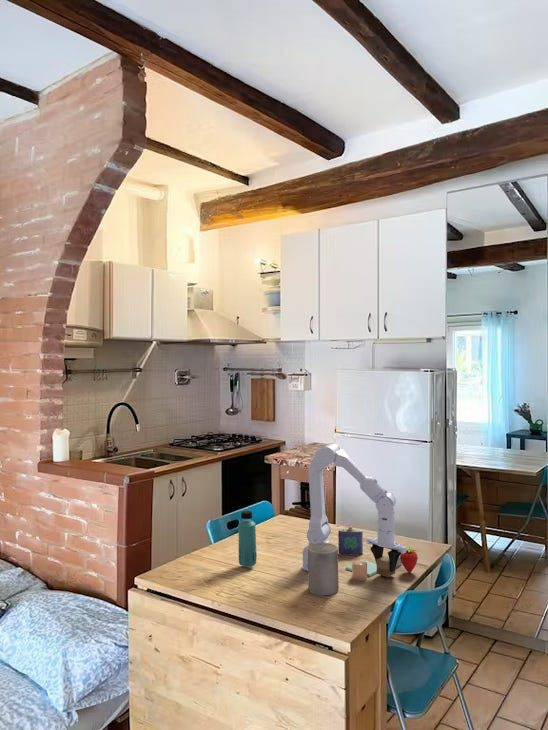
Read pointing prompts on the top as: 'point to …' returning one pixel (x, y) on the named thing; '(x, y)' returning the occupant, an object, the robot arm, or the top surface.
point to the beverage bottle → (247, 540)
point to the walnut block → (384, 566)
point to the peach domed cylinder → (359, 570)
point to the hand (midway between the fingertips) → (386, 569)
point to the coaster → (370, 568)
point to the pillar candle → (323, 569)
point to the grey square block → (398, 562)
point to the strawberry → (409, 559)
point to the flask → (350, 541)
